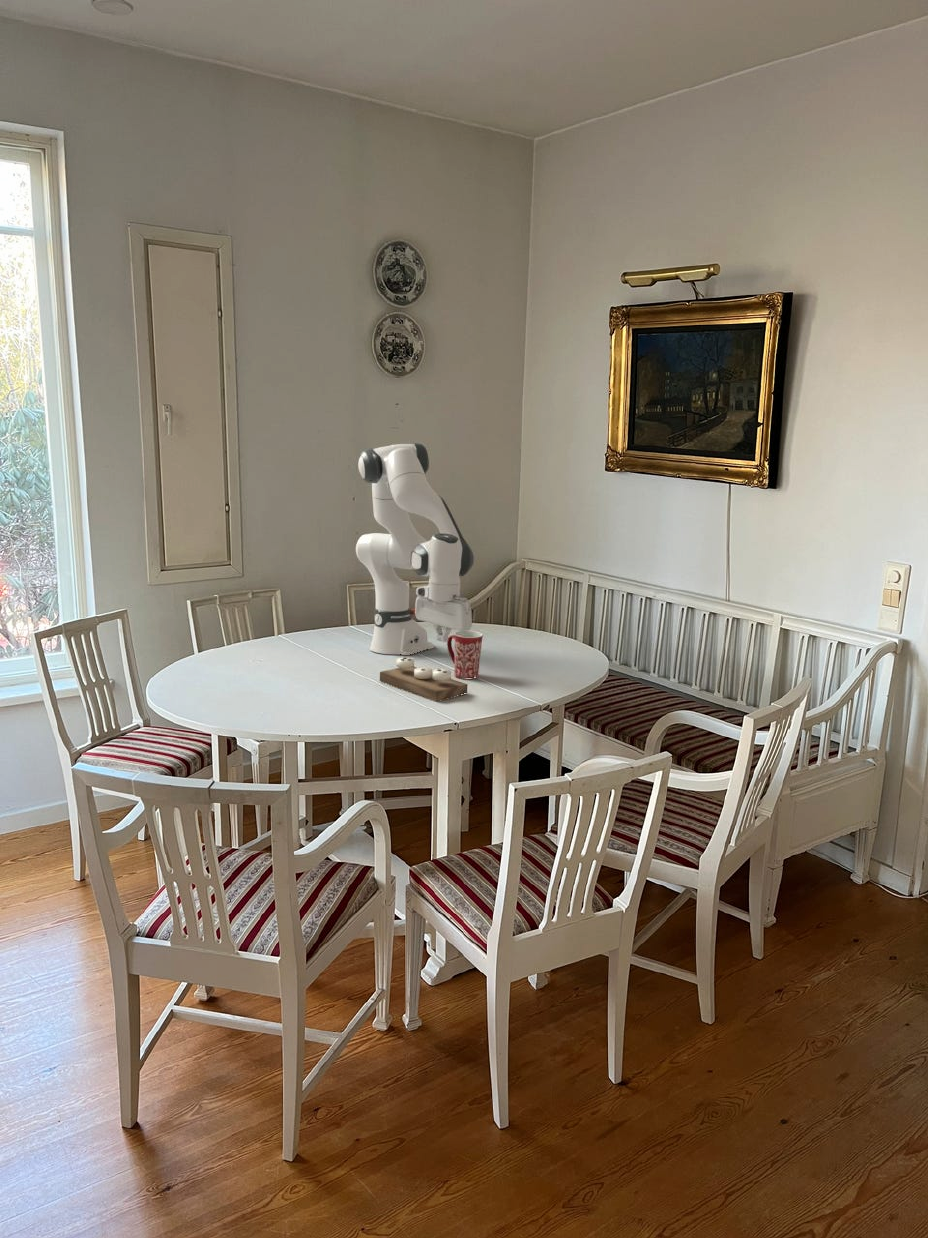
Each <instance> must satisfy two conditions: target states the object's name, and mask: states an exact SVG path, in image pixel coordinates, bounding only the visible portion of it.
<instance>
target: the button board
mask: <svg viewBox="0 0 928 1238" xmlns="http://www.w3.org/2000/svg"><path fill="white" fill-rule="evenodd" d="M416 668H418V667H417V666H414V667H413V668H399V667H396V668H392V669H388V670H387V669H386V670H382V671H380V672H379V682H380V681H381V682H380V683H382V682H384V683H383V684H385V683H387V684H386V685H388V684H389V686H391V685H392V686H391V687H393V686H394V687H393V688H396V687H397V688H396V689H399V688H400V689H399V690H402V689H403V691H405V692H407V691H408V693H410V692H411V693H410V694H414V695H416V696H418V695H419V697H421V696H422V697H421V698H423V699H427V700H429V699H430V701H432V700H433V701H432V702H435V701H436V703H438V702H441V701H440V700H442V701H445V700H444V699H446V700H448V699H447V698H450V699H452V698H451V697H454V696H457V695H461V694H464V693H467V694H468V685H469V684H468V683H465V682H462V681H458V680H456V679H454V678H451V679H450V680H446V681H439V680H435V679H433V672H432V678H429V679H418V678H415V677H414V669H416ZM454 698H455V697H454ZM437 701H438V702H437Z"/></svg>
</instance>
